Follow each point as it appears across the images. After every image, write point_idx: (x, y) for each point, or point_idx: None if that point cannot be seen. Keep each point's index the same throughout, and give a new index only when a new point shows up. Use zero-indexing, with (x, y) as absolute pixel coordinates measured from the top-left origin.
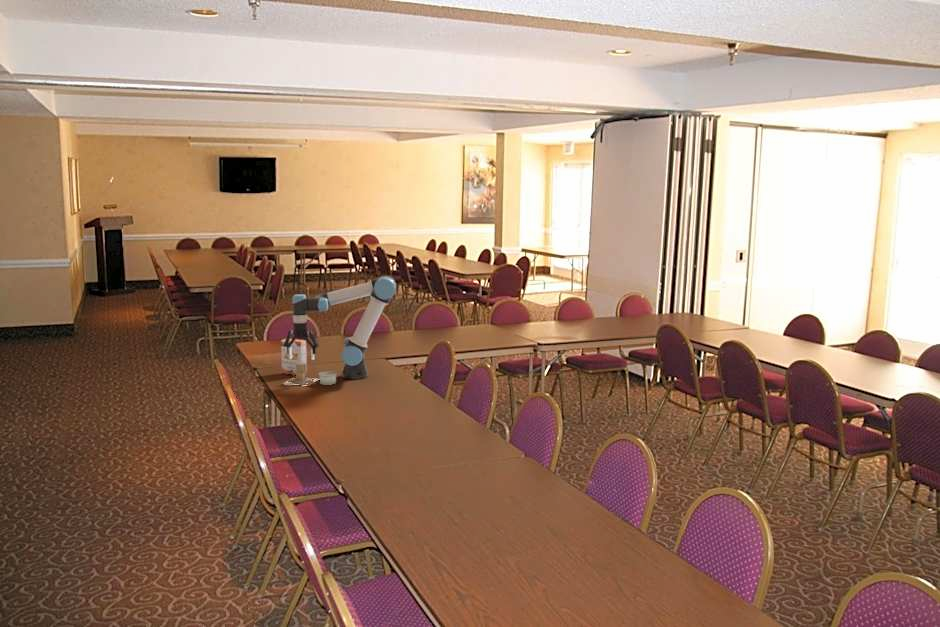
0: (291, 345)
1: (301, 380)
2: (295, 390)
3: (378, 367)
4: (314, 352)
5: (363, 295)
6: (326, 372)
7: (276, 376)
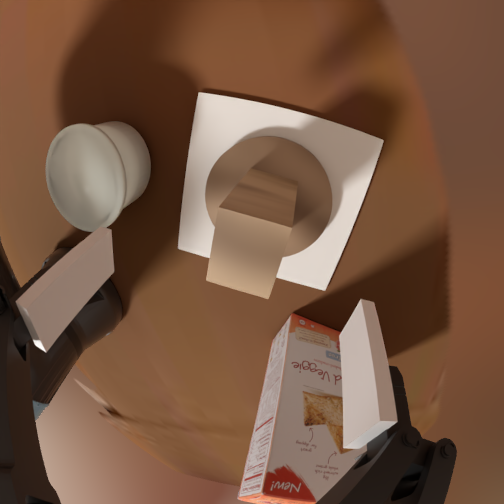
0: (340, 477)
1: (260, 170)
2: (264, 6)
3: (88, 365)
4: (36, 275)
5: None
6: (89, 195)
7: (411, 318)
